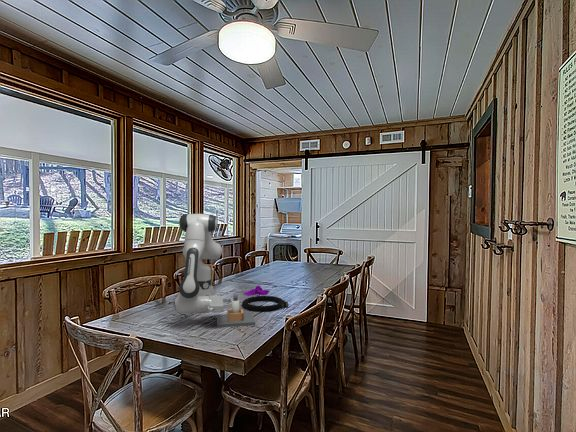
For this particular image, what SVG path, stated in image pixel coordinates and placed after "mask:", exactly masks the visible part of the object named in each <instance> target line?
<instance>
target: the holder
mask: <svg viewBox="0 0 576 432" xmlns="http://www.w3.org/2000/svg"><path fill="white" fill-rule="evenodd" d="M226 309H227V313H226V314H216V328H229V327H230V328H231V327H244V326H255V325H256V321H255V318H254V315H253V313H252V312H245V313H244V310H243V308H239V313H232V308H226Z"/></svg>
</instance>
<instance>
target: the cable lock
mask: <svg viewBox="0 0 576 432" xmlns="http://www.w3.org/2000/svg"><path fill="white" fill-rule="evenodd" d="M255 302H273V303H275V304H272V305H254V304H251V303H255ZM248 303H249V304H248ZM241 305H242V308H244V309H245V310H247V311H252V312H259V313H261V312H263V313H265V312H273V311H275V312H276V311H278V310H280V309H281V310H282V309H288V308H289V302H288V301H286V300H284V299H283V298H281V297H279V296H272V295H261V296H256V295H255V296H249V297H247V298H245V299H244V300H243V301H242V303H241Z"/></svg>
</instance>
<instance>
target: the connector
mask: <svg viewBox="0 0 576 432" xmlns="http://www.w3.org/2000/svg"><path fill="white" fill-rule="evenodd" d="M238 296H239V294H233V297H232V298H233V299H231V303H232V307H231V309H232V313H239V309H240V299H239V297H238Z"/></svg>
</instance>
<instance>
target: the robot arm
mask: <svg viewBox="0 0 576 432" xmlns="http://www.w3.org/2000/svg"><path fill="white" fill-rule="evenodd" d="M178 224H179V228H180V230H181V231H183V232H185V234H184V235H185V236H184V241H183V245H184V246H183V248H182V254H183V256H184V258H185V265H184V267H185V268H184V273H183V274H184V276H183V279H182V280H181V282H180V283H179V286H178V290H179V292H178V294H177V296H176V298H174V301H173V303H174V310H175V311H176V313H177V314H181V315H182V314H184V315H187V314H188V315H189V314H190V315H191V314H192V315H193V314H195V313H198V314H207V313H222V312H224V311H225V310H226V309H232V298H224V297H223V295H217V294H216V295H215V290H214V286H213V285H212V284H213V283H212V281H213V280H212V268H211V266H209V264H206V263H204V262H203V260H215V259H219V258H220V257H221V256H222V254H223V248H222V245H221V244H220V243H218V242H216V241H214V239H213V238H212V235H211V233H212V232H215V231H216V229H217V227H218V219H217V217H216V216H215V215H214V214H206V213H184V214H182V215H181V216H180V218H179V221H178ZM224 309H225V310H224Z"/></svg>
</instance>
